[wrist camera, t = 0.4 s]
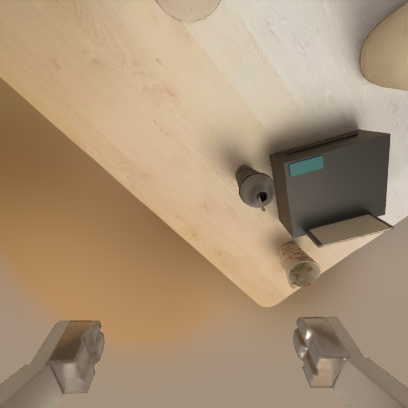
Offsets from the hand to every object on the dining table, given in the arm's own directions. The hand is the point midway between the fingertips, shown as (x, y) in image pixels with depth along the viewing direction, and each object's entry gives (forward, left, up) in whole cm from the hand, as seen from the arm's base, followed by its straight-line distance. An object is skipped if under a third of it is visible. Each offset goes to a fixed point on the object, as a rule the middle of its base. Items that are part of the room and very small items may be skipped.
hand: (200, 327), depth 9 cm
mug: (+33, +28, -48) cm, 64 cm away
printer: (+9, +32, -48) cm, 58 cm away
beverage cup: (+7, +13, -48) cm, 50 cm away
